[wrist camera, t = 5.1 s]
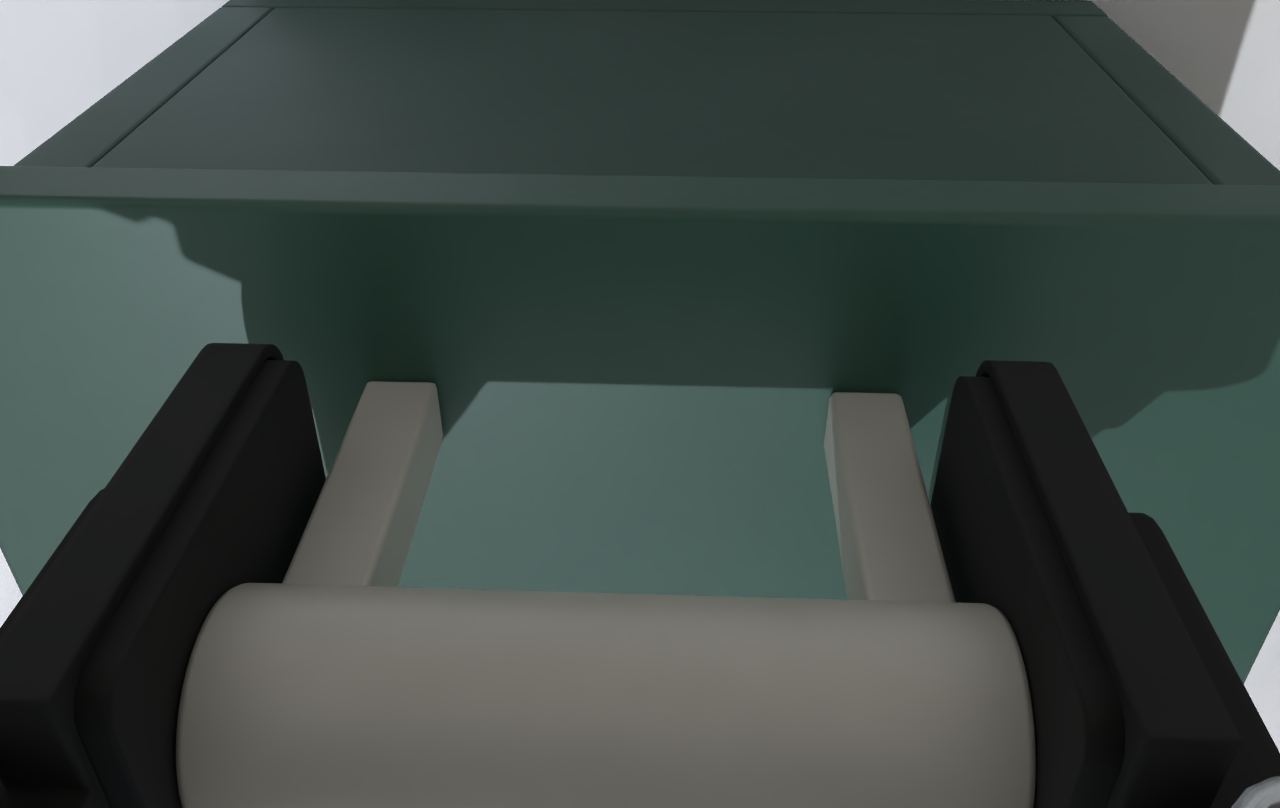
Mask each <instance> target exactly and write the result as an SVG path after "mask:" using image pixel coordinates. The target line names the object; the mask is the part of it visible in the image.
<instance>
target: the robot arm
mask: <svg viewBox="0 0 1280 808" xmlns="http://www.w3.org/2000/svg"><path fill="white" fill-rule="evenodd" d="M325 481H326V476H325V472H324V467H323V462H322V457H321V452H320V447H319V442H318V438H317V433H316V428H315V423H314V418H313V413H312V409H311V404H310V399H309V394H308V389H307V384H306V379H305V375H304V372H303V369H302V367H301V365H300V363H298V362H297V361H284V358H283V355H282V354H281V352H280V350H279V348H278V347H276V346H275V345H273V344H243V343H210V344H207V345H206V346H205V347H204V348H203V349H202V350H201V351H200V352H199V354H198V355H197V357H196V358H195V360H194V361H193V362H192V364H191V365H190V367H189V368H188V370H187V371H186V373H185V374H184V375H183V377H182V378H181V380H180V381H179V383H178V384H177V385H176V387H175V388H174V390H173V391H172V393H171V394H170V395H169V397H168V398H167V400H166V401H165V403H164V404H163V405H162V407H161V408H160V410H159V411H158V413H157V414H156V415H155V417H154V418H153V420H152V421H151V423H150V424H149V425H148V427H147V428H146V430H145V431H144V433H143V434H142V435H141V437H140V438H139V440H138V441H137V443H136V444H135V446H134V447H133V448H132V450H131V451H130V453H129V454H128V456H127V457H126V458H125V460H124V461H123V463H122V464H121V466H120V467H119V468H118V470H117V471H116V473H115V474H114V476H113V477H112V478H111V480H110V481H109V483H108V484H107V486H106V487H105V488H104V489H102V490H100V491H99V492H98V493H97V494H96V496H95V497H94V498H93V499H92V500H91V501H90V502H89V503H88V505H87V506H86V507H85V509H84V510H83V512H82V513H81V514H80V516H79V517H78V519H77V520H76V522H75V523H74V524H73V526H72V527H71V529H70V530H69V531H68V533H67V534H66V536H65V537H64V539H63V540H62V541H61V543H60V544H59V546H58V547H57V548H56V550H55V551H54V553H53V554H52V556H51V557H50V558H49V560H48V561H47V563H46V564H45V566H44V567H43V568H42V570H41V571H40V573H39V574H38V575H37V577H36V578H35V580H34V581H33V583H32V584H31V585H30V587H29V588H28V590H27V591H26V592H25V594H24V595H23V597H22V598H21V600H20V601H19V602H18V604H17V605H16V607H15V608H14V609H13V611H12V612H11V614H10V615H9V617H8V618H7V619H6V621H5V622H4V624H3V625H2V626H1V628H0V808H182V805H181V800H180V796H179V791H178V783H177V774H176V731H177V720H178V711H179V704H180V698H181V692H182V687H183V682H184V678H185V674H186V669H187V666H188V663H189V659H190V656H191V652H192V650H193V647H194V644H195V641H196V638H197V636H198V634H199V632H200V629H201V627H202V625H203V623H204V621H205V619H206V617H207V615H208V613H209V612H210V610H211V609H212V607H213V606H214V604H215V603H216V602H217V601H218V599H219V598H220V597H221V596H222V595H223V594H224V593H225V592H227V591H228V590H229V589H231V588H233V587H235V586H238V585H240V584H244V583H280V584H282V582H283V580H284V577H285V575H286V573H287V570H288V568H289V566H290V563H291V561H292V559H293V556H294V554H295V552H296V549H297V547H298V544H299V542H300V540H301V537H302V535H303V533H304V530H305V528H306V526H307V523H308V521H309V519H310V516H311V514H312V511H313V509H314V507H315V504H316V502H317V500H318V497H319V495H320V493H321V490H322V488H323V486H324V483H325ZM930 507H931V510H932V514H933V518H934V522H935V526H936V529H937V533H938V537H939V541H940V545H941V548H942V552H943V556H944V560H945V564H946V567H947V571H948V575H949V579H950V583H951V586H952V590H953V594H954V598H955V602H956V603H985V604H988V605H991V606H993V607H995V608H997V609H998V610H1000V611H1001V612H1002V613H1003V614H1004V616H1005V617H1006V618H1007V620H1008V622H1009V623H1010V625H1011V627H1012V629H1013V632H1014V634H1015V636H1016V639H1017V642H1018V645H1019V648H1020V651H1021V654H1022V658H1023V661H1024V665H1025V669H1026V673H1027V678H1028V683H1029V688H1030V694H1031V701H1032V708H1033V716H1034V728H1035V743H1036V785H1035V798H1034V807H1033V808H1280V753H1279V751H1278V749H1277V747H1276V745H1275V743H1274V741H1273V740H1272V738H1271V736H1270V734H1269V732H1268V730H1267V728H1266V726H1265V724H1264V723H1263V721H1262V719H1261V717H1260V715H1259V713H1258V711H1257V709H1256V707H1255V705H1254V704H1253V702H1252V700H1251V698H1250V696H1249V694H1248V692H1247V690H1246V688H1245V686H1244V685H1243V683H1242V681H1241V679H1240V677H1239V675H1238V673H1237V671H1236V669H1235V668H1234V666H1233V664H1232V662H1231V660H1230V658H1229V656H1228V654H1227V652H1226V650H1225V649H1224V647H1223V645H1222V643H1221V641H1220V639H1219V637H1218V635H1217V633H1216V632H1215V630H1214V628H1213V626H1212V624H1211V622H1210V620H1209V618H1208V616H1207V614H1206V613H1205V611H1204V609H1203V607H1202V605H1201V603H1200V601H1199V599H1198V597H1197V596H1196V594H1195V592H1194V590H1193V588H1192V586H1191V584H1190V582H1189V580H1188V578H1187V577H1186V575H1185V573H1184V571H1183V569H1182V567H1181V565H1180V563H1179V561H1178V560H1177V558H1176V556H1175V554H1174V552H1173V550H1172V548H1171V546H1170V544H1169V542H1168V541H1167V539H1166V537H1165V535H1164V533H1163V531H1162V530H1161V528H1160V527H1159V526H1158V524H1157V523H1156V522H1155V520H1154V519H1153V518H1152V517H1150V516H1148V515H1146V514H1144V513H1129V512H1128V511H1127V509H1126V507H1125V505H1124V503H1123V501H1122V499H1121V497H1120V495H1119V493H1118V491H1117V489H1116V487H1115V485H1114V483H1113V481H1112V479H1111V477H1110V475H1109V473H1108V471H1107V469H1106V467H1105V465H1104V463H1103V461H1102V459H1101V457H1100V455H1099V453H1098V451H1097V449H1096V447H1095V445H1094V443H1093V441H1092V439H1091V437H1090V435H1089V433H1088V431H1087V429H1086V427H1085V425H1084V423H1083V421H1082V419H1081V417H1080V415H1079V413H1078V411H1077V409H1076V407H1075V405H1074V403H1073V401H1072V399H1071V397H1070V395H1069V393H1068V391H1067V389H1066V387H1065V385H1064V383H1063V381H1062V379H1061V377H1060V375H1059V373H1058V371H1057V369H1056V368H1055V366H1054V365H1053V364H1052V363H1050V362H1039V361H996V360H985V361H984V362H982V363H981V364H980V366H979V368H978V370H977V373H976V376H960V377H959V378H957V380H956V382H955V385H954V389H953V393H952V398H951V403H950V408H949V413H948V418H947V423H946V428H945V433H944V438H943V443H942V448H941V453H940V459H939V464H938V469H937V474H936V479H935V484H934V489H933V494H932V499H931V504H930Z"/></svg>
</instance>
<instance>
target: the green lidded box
mask: <svg viewBox="0 0 1280 808" xmlns="http://www.w3.org/2000/svg"><path fill="white" fill-rule="evenodd" d="M14 166H23V167H88V168H153V169H219V170H284V171H349V172H414V173H480V174H545V175H610V176H675V177H741V178H806V179H871V180H936V181H1002V182H1067V183H1132V184H1198V185H1263V186H1280V171H1279V170H1278V169H1277V168H1276V167H1274V166H1273V165H1272V164H1271V163H1270V162H1269V161H1268V160H1267V159H1266V158H1264V157H1263V156H1262V155H1261V154H1260V153H1259V152H1258V151H1257V150H1256V149H1254V148H1253V147H1252V146H1251V145H1250V144H1249V143H1248V142H1247V141H1245V140H1244V139H1243V138H1242V137H1241V136H1240V135H1239V134H1238V133H1237V132H1235V131H1234V130H1233V129H1232V128H1231V127H1230V126H1229V125H1228V124H1227V123H1225V122H1224V121H1223V120H1222V119H1221V118H1220V117H1219V116H1218V115H1217V114H1215V113H1214V112H1213V111H1212V110H1211V109H1210V108H1209V107H1208V106H1206V105H1205V104H1204V103H1203V102H1202V101H1201V100H1200V99H1199V98H1198V97H1196V96H1195V95H1194V94H1193V93H1192V92H1191V91H1190V90H1189V89H1188V88H1186V87H1185V86H1184V85H1183V84H1182V83H1181V82H1180V81H1179V80H1177V79H1176V78H1175V77H1174V76H1173V75H1172V74H1171V73H1170V72H1169V71H1167V70H1166V69H1165V68H1164V67H1163V66H1162V65H1161V64H1160V63H1159V62H1157V61H1156V60H1155V59H1154V58H1153V57H1152V56H1151V55H1150V54H1149V53H1147V52H1146V51H1145V50H1144V49H1143V48H1142V47H1141V46H1140V45H1138V44H1137V43H1136V42H1135V41H1134V40H1133V39H1132V38H1131V37H1130V36H1128V35H1127V34H1126V33H1125V32H1124V31H1123V30H1122V29H1121V28H1120V27H1118V26H1117V25H1116V24H1115V23H1114V22H1113V21H1112V20H1111V19H1109V18H1108V17H1107V15H1106V14H1105V13H1104V12H1103V11H1102V10H1101V9H1100V8H1098V7H1097V6H1096V5H1095V4H1094V3H1093V2H1091V1H1043V0H230V1H228V2H227V3H226V4H224V5H223V6H222V7H221V8H219V9H218V10H217V11H215V12H214V13H213V14H212V15H210V16H209V17H208V18H206V19H205V20H204V21H202V22H201V23H200V24H198V25H197V26H196V27H195V28H193V29H192V30H191V31H189V32H188V33H187V34H185V35H184V36H183V37H181V38H180V39H179V40H178V41H176V42H175V43H174V44H172V45H171V46H170V47H168V48H167V49H166V50H164V51H163V52H162V53H160V54H159V55H158V56H157V57H155V58H154V59H153V60H151V61H150V62H149V63H147V64H146V65H145V66H143V67H142V68H141V69H140V70H138V71H137V72H136V73H134V74H133V75H132V76H130V77H129V78H128V79H126V80H125V81H124V82H123V83H121V84H120V85H119V86H117V87H116V88H115V89H113V90H112V91H111V92H109V93H108V94H107V95H106V96H104V97H103V98H102V99H100V100H99V101H98V102H96V103H95V104H94V105H92V106H91V107H90V108H89V109H87V110H86V111H85V112H83V113H82V114H81V115H79V116H78V117H77V118H75V119H74V120H73V121H71V122H70V123H69V124H68V125H66V126H65V127H64V128H62V129H61V130H60V131H58V132H57V133H56V134H54V135H53V136H52V137H51V138H49V139H48V140H47V141H45V142H44V143H43V144H41V145H40V146H39V147H37V148H36V149H35V150H34V151H32V152H31V153H30V154H28V155H27V156H26V157H24V158H23V159H22V160H20V161H19V162H18V163H17V164H15V165H14Z"/></svg>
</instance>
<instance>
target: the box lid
mask: <svg viewBox="0 0 1280 808" xmlns="http://www.w3.org/2000/svg"><path fill="white" fill-rule="evenodd" d="M210 343H243V344H273V345H275V346H276V347H278V348H279V350H280V352H281V354H282V355H283V358H284V361H297V362H298V363H300V365H301V367H302V369H303V372H304V375H305V379H306V384H307V389H308V394H309V399H310V404H311V409H312V413H313V418H314V423H315V428H316V433H317V438H318V442H319V447H320V452H321V457H322V462H323V467H324V472H325V476H326V481H325V483H324V486H323V488H322V490H321V493H320V495H319V497H318V500H317V502H316V504H315V507H314V509H313V511H312V514H311V516H310V519H309V521H308V523H307V526H306V528H305V530H304V533H303V535H302V537H301V540H300V542H299V544H298V547H297V549H296V552H295V554H294V556H293V559H292V561H291V563H290V566H289V568H288V570H287V573H286V575H285V577H284V580H283V582H282V584H280V583H244V584H240V585H238V586H235V587H233V588H231V589H229V590H228V591H227V592H225V593H224V594H223V595H222V596H221V597H220V598H219V599H218V601H217V602H216V603H215V604H214V606H213V607H212V609H211V610H210V612H209V613H208V615H207V617H206V619H205V621H204V623H203V625H202V627H201V629H200V632H199V634H198V636H197V638H196V641H195V644H194V647H193V650H192V652H191V656H190V659H189V663H188V666H187V669H186V674H185V678H184V682H183V687H182V692H181V698H180V704H179V711H178V720H177V731H176V774H177V783H178V791H179V796H180V800H181V805H182V808H1033V807H1034V798H1035V785H1036V743H1035V728H1034V716H1033V708H1032V701H1031V694H1030V688H1029V683H1028V678H1027V673H1026V669H1025V665H1024V661H1023V658H1022V654H1021V651H1020V648H1019V645H1018V642H1017V639H1016V636H1015V634H1014V632H1013V629H1012V627H1011V625H1010V623H1009V622H1008V620H1007V618H1006V617H1005V616H1004V614H1003V613H1002V612H1001V611H1000V610H998V609H997V608H995V607H993V606H991V605H988V604H985V603H956V602H955V598H954V594H953V590H952V586H951V583H950V579H949V575H948V571H947V567H946V564H945V560H944V556H943V552H942V548H941V545H940V541H939V537H938V533H937V529H936V526H935V522H934V518H933V514H932V510H931V507H930V504H931V499H932V494H933V489H934V484H935V479H936V474H937V469H938V464H939V459H940V453H941V448H942V443H943V438H944V433H945V428H946V423H947V418H948V413H949V408H950V403H951V398H952V393H953V389H954V385H955V382H956V380H957V378H959V377H960V376H976V373H977V370H978V368H979V366H980V364H981V363H982V362H984V361H985V360H996V361H1039V362H1050V363H1052V364H1053V365H1054V366H1055V368H1056V369H1057V371H1058V373H1059V375H1060V377H1061V379H1062V381H1063V383H1064V385H1065V387H1066V389H1067V391H1068V393H1069V395H1070V397H1071V399H1072V401H1073V403H1074V405H1075V407H1076V409H1077V411H1078V413H1079V415H1080V417H1081V419H1082V421H1083V423H1084V425H1085V427H1086V429H1087V431H1088V433H1089V435H1090V437H1091V439H1092V441H1093V443H1094V445H1095V447H1096V449H1097V451H1098V453H1099V455H1100V457H1101V459H1102V461H1103V463H1104V465H1105V467H1106V469H1107V471H1108V473H1109V475H1110V477H1111V479H1112V481H1113V483H1114V485H1115V487H1116V489H1117V491H1118V493H1119V495H1120V497H1121V499H1122V501H1123V503H1124V505H1125V507H1126V509H1127V511H1128V512H1129V513H1144V514H1146V515H1148V516H1150V517H1152V518H1153V519H1154V520H1155V522H1156V523H1157V524H1158V526H1159V527H1160V528H1161V530H1162V531H1163V533H1164V535H1165V537H1166V539H1167V541H1168V542H1169V544H1170V546H1171V548H1172V550H1173V552H1174V554H1175V556H1176V558H1177V560H1178V561H1179V563H1180V565H1181V567H1182V569H1183V571H1184V573H1185V575H1186V577H1187V578H1188V580H1189V582H1190V584H1191V586H1192V588H1193V590H1194V592H1195V594H1196V596H1197V597H1198V599H1199V601H1200V603H1201V605H1202V607H1203V609H1204V611H1205V613H1206V614H1207V616H1208V618H1209V620H1210V622H1211V624H1212V626H1213V628H1214V630H1215V632H1216V633H1217V635H1218V637H1219V639H1220V641H1221V643H1222V645H1223V647H1224V649H1225V650H1226V652H1227V654H1228V656H1229V658H1230V660H1231V662H1232V664H1233V666H1234V668H1235V669H1236V671H1237V673H1238V675H1239V677H1240V679H1241V681H1242V683H1243V684H1244V682H1245V680H1246V678H1247V676H1248V674H1249V672H1250V670H1251V668H1252V666H1253V664H1254V662H1255V660H1256V657H1257V655H1258V653H1259V651H1260V649H1261V647H1262V645H1263V643H1264V641H1265V639H1266V637H1267V635H1268V633H1269V631H1270V629H1271V627H1272V625H1273V623H1274V620H1275V618H1276V616H1277V614H1278V612H1279V610H1280V186H1263V185H1198V184H1132V183H1067V182H1002V181H936V180H871V179H806V178H741V177H675V176H610V175H545V174H480V173H414V172H349V171H284V170H219V169H153V168H88V167H23V166H0V548H1V550H2V552H3V554H4V557H5V559H6V561H7V563H8V565H9V567H10V569H11V572H12V574H13V576H14V578H15V580H16V582H17V584H18V586H19V589H20V591H21V593H22V595H24V594H25V592H26V591H27V590H28V588H29V587H30V585H31V584H32V583H33V581H34V580H35V578H36V577H37V575H38V574H39V573H40V571H41V570H42V568H43V567H44V566H45V564H46V563H47V561H48V560H49V558H50V557H51V556H52V554H53V553H54V551H55V550H56V548H57V547H58V546H59V544H60V543H61V541H62V540H63V539H64V537H65V536H66V534H67V533H68V531H69V530H70V529H71V527H72V526H73V524H74V523H75V522H76V520H77V519H78V517H79V516H80V514H81V513H82V512H83V510H84V509H85V507H86V506H87V505H88V503H89V502H90V501H91V500H92V499H93V498H94V497H95V496H96V494H97V493H98V492H99V491H100V490H102V489H104V488H105V487H106V486H107V484H108V483H109V481H110V480H111V478H112V477H113V476H114V474H115V473H116V471H117V470H118V468H119V467H120V466H121V464H122V463H123V461H124V460H125V458H126V457H127V456H128V454H129V453H130V451H131V450H132V448H133V447H134V446H135V444H136V443H137V441H138V440H139V438H140V437H141V435H142V434H143V433H144V431H145V430H146V428H147V427H148V425H149V424H150V423H151V421H152V420H153V418H154V417H155V415H156V414H157V413H158V411H159V410H160V408H161V407H162V405H163V404H164V403H165V401H166V400H167V398H168V397H169V395H170V394H171V393H172V391H173V390H174V388H175V387H176V385H177V384H178V383H179V381H180V380H181V378H182V377H183V375H184V374H185V373H186V371H187V370H188V368H189V367H190V365H191V364H192V362H193V361H194V360H195V358H196V357H197V355H198V354H199V352H200V351H201V350H202V349H203V348H204V347H205V346H206V345H207V344H210Z"/></svg>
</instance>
